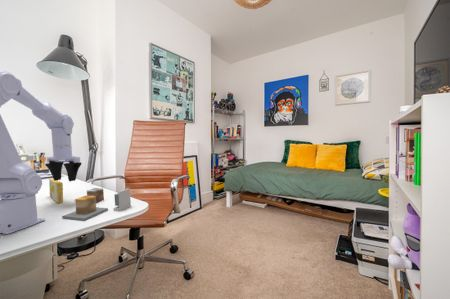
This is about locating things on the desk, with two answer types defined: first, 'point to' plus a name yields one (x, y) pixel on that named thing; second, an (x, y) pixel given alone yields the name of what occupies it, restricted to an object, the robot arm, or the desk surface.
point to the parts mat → (84, 217)
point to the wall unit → (122, 200)
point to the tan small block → (85, 204)
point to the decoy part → (96, 194)
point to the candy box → (56, 190)
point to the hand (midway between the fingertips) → (64, 180)
